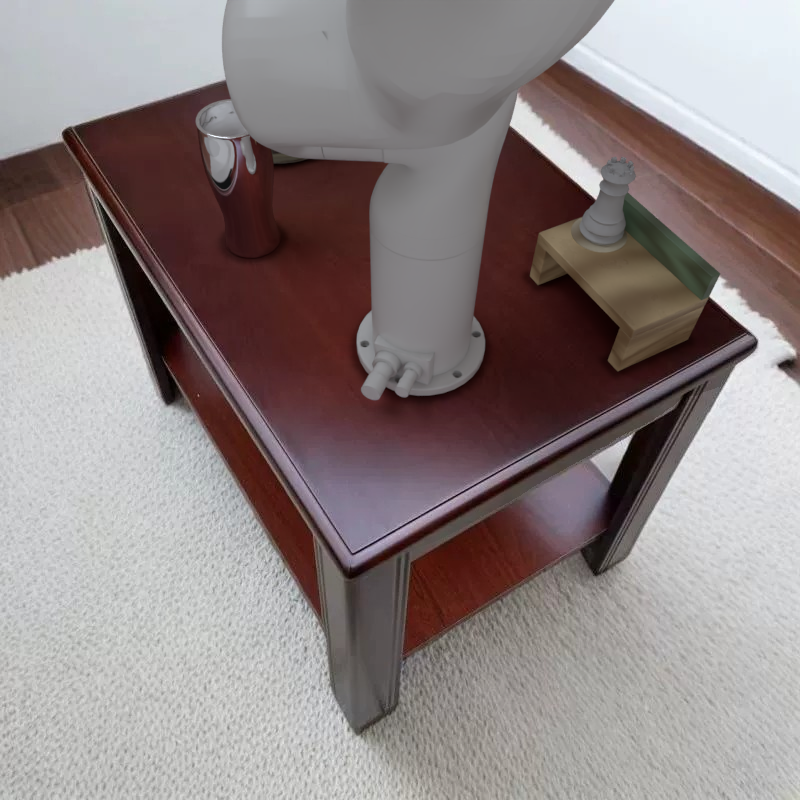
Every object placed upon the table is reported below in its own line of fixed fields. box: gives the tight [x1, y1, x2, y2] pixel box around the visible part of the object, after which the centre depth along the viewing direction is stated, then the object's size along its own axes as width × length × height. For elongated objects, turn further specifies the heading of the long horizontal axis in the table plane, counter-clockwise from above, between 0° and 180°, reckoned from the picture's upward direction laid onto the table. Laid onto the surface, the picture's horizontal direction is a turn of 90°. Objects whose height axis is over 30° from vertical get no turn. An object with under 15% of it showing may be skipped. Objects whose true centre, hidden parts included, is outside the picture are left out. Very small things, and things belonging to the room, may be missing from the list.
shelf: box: [529, 192, 721, 372], centre depth 72 cm, size 15×9×9 cm, turn 28°
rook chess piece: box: [579, 156, 637, 245], centre depth 71 cm, size 4×4×8 cm
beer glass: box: [195, 98, 281, 259], centre depth 75 cm, size 7×7×15 cm
